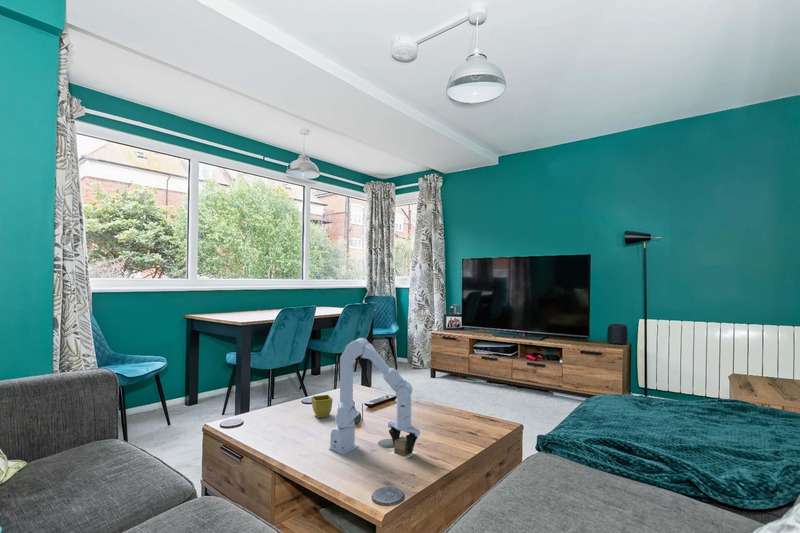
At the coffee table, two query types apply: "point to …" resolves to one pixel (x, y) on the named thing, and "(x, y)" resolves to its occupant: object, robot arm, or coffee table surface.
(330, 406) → the flower pot
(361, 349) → the robot arm
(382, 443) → the slate coaster
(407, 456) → the tile
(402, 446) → the walnut block
